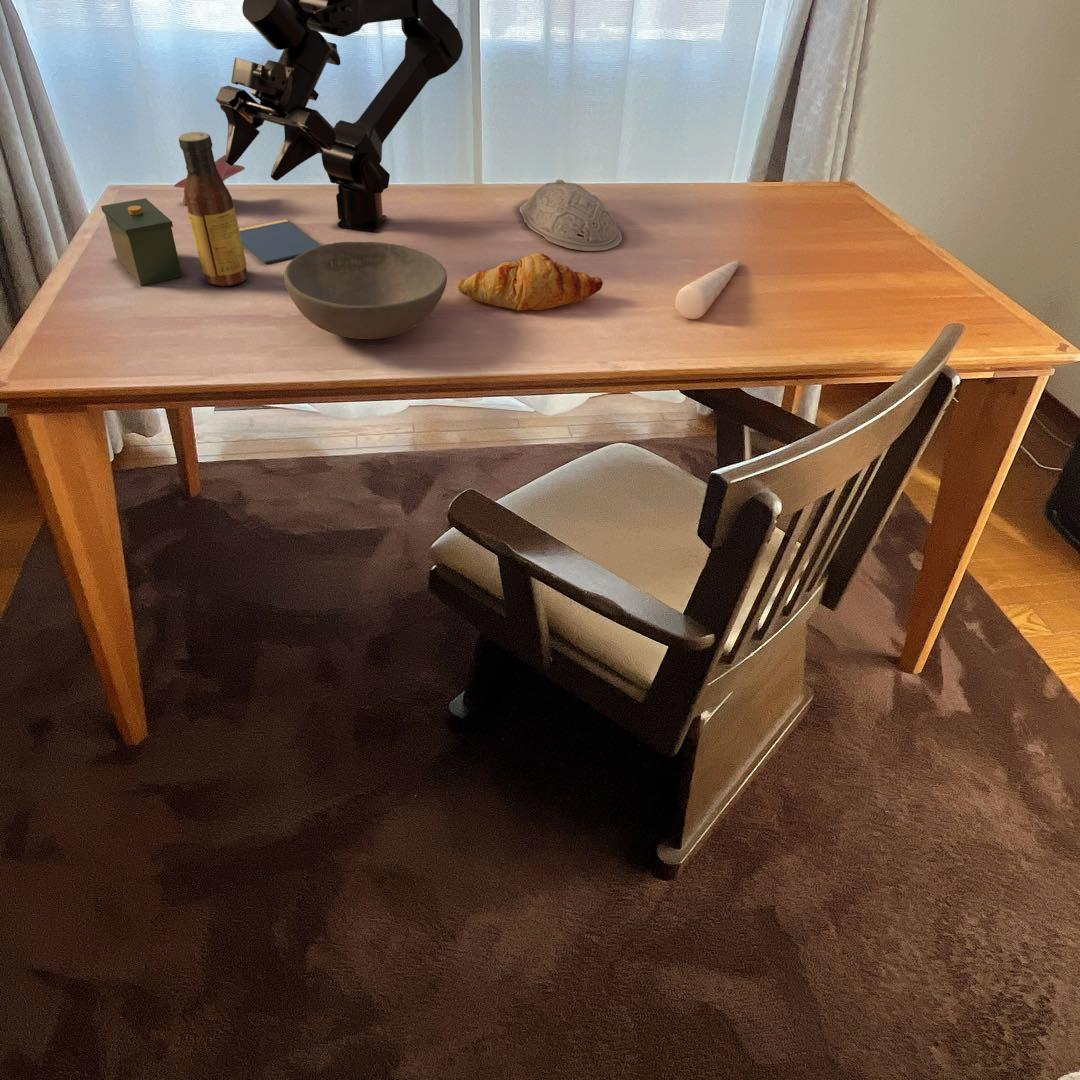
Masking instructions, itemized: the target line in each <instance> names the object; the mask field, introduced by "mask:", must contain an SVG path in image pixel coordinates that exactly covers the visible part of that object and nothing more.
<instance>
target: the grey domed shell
mask: <svg viewBox="0 0 1080 1080" xmlns="http://www.w3.org/2000/svg"><path fill="white" fill-rule="evenodd" d="M519 212H520V213H521V215H522V218H523V221H524V223H525V224H527V226H528V228H529V229H531V230H532V231H533V232H535V233H537V234H538V235H540V236H543V238H544V239H545V240H547V241H549V242H551V243H553V244H555V245H557V246H560V247H564V248H567V249H569V250H576V251H584V252H585V251H586V252H598V251H600V252H602V251H607V250H611V249H613V248H615V247H617V246H618V245H619V244H620V243H621V242H622V239H623V238H622V233H621V230H620V229H619V228H618V226H617V223H616V220H615V218H614V216H612V214H611V213H610V212H609V211H608V208H607V207H606V205H605V204H604V203H603V202H602V200H601V199H600V198H599V197H598V196H597V195H596V194H592V193H591V192H590V191H588V190H587V189H585V187H583V186H582V185H580V184H577V183H574V182H569V181H568V182H565V181H564V180H563V179H559V178H558V179H557V180H555V182H553V181H552V182H547V183H545V184H542V186H541V187H539V188H538V189H536V191H534V193H533V195H532V196H531V197H530V198H529V199H528V200H527V201H525V202H524V203H523V204H522V205H521V206H520V207H519ZM579 235H580V236H579Z"/></svg>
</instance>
